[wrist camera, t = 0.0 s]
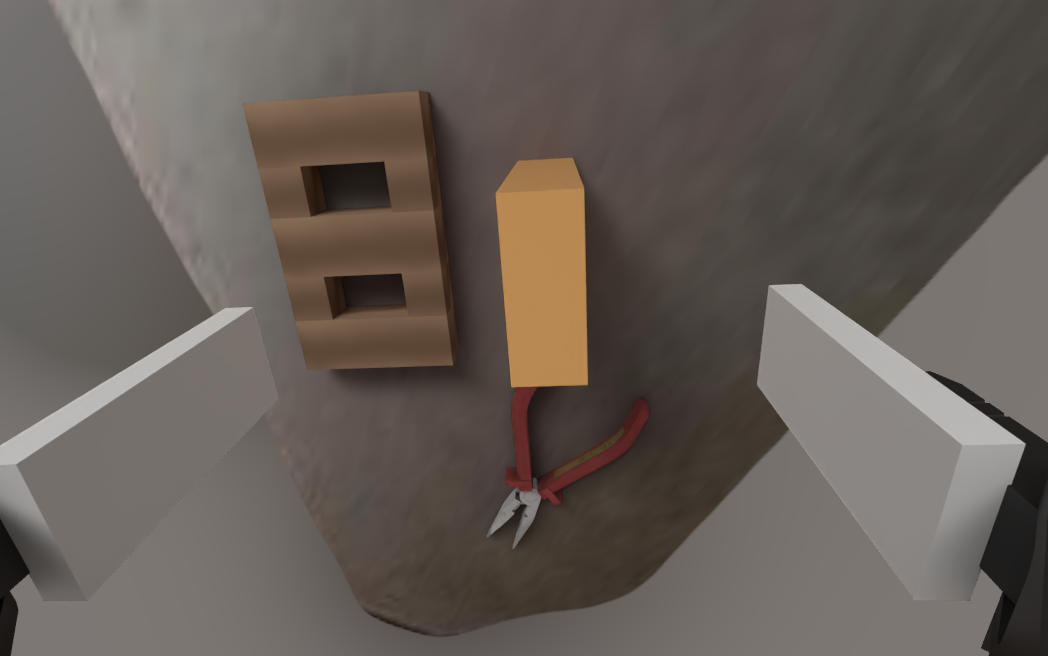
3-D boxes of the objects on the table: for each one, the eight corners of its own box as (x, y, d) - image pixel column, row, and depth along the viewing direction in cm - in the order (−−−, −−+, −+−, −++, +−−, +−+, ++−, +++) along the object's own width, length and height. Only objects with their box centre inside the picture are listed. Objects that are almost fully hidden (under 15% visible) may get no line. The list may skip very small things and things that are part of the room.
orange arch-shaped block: (517, 160, 39) (495, 193, 24) (572, 157, 38) (584, 188, 24) (526, 290, 43) (511, 387, 28) (576, 288, 42) (587, 384, 28)
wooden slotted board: (265, 103, 38) (242, 103, 35) (428, 92, 37) (418, 90, 35) (322, 354, 46) (307, 369, 43) (459, 349, 45) (452, 365, 42)
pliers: (448, 512, 52) (443, 531, 50) (535, 346, 45) (534, 359, 43) (552, 553, 54) (552, 573, 51) (653, 398, 46) (658, 414, 44)
